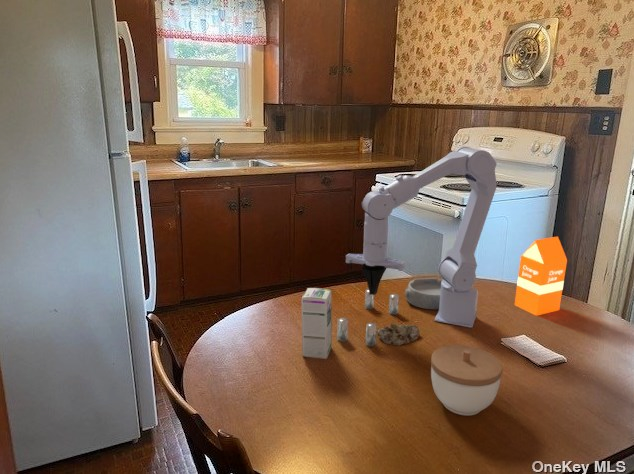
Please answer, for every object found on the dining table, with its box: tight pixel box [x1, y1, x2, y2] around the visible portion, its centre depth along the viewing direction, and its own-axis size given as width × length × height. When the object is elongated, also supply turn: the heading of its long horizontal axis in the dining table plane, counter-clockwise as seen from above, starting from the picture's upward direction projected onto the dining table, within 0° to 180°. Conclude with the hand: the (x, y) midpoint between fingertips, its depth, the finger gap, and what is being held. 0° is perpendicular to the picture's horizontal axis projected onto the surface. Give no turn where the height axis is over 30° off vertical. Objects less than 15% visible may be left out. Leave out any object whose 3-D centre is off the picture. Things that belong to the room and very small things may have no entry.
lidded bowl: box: [430, 344, 503, 417], centre depth 90 cm, size 13×13×11 cm
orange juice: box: [514, 236, 568, 316], centre depth 131 cm, size 8×9×20 cm
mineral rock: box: [376, 322, 420, 346], centre depth 117 cm, size 11×4×8 cm
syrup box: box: [300, 287, 333, 360], centre depth 108 cm, size 6×6×14 cm
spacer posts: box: [336, 288, 400, 348], centre depth 123 cm, size 9×22×5 cm, turn 155°
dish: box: [404, 277, 442, 310], centre depth 138 cm, size 14×14×5 cm
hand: (373, 293), depth 122 cm, fingers closed
